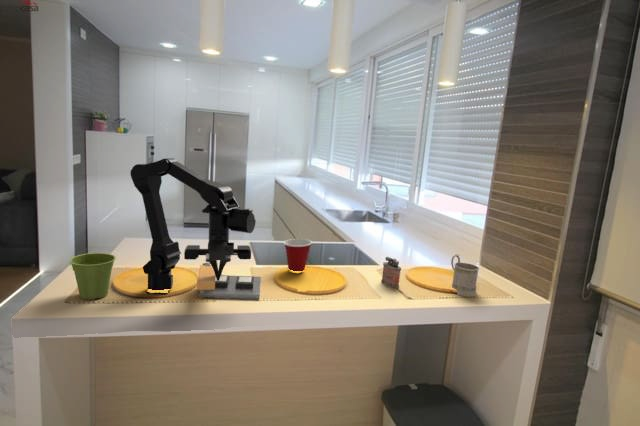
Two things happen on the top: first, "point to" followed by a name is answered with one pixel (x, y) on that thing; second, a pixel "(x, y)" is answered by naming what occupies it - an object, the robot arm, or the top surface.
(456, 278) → the mug
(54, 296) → the top surface
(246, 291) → the power supply chassis
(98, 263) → the plant pot
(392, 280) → the lighter
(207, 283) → the wooden plank
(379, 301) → the top surface
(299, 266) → the plastic cup
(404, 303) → the top surface
